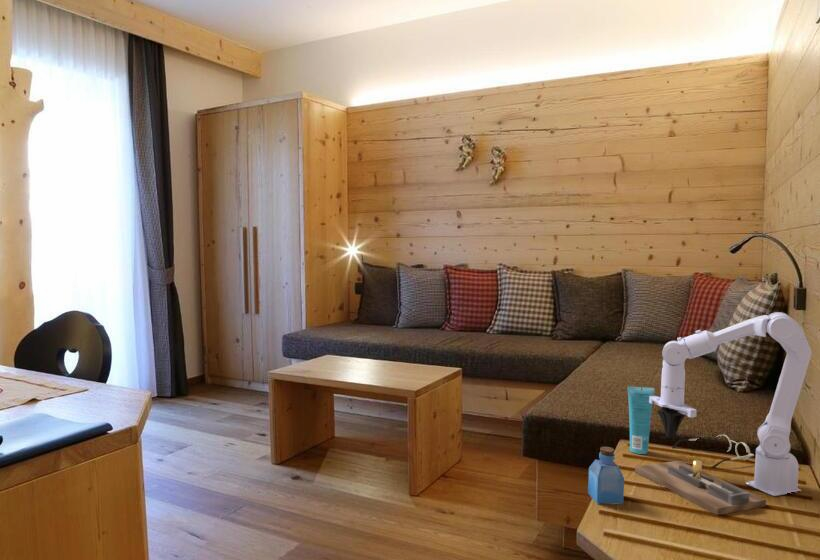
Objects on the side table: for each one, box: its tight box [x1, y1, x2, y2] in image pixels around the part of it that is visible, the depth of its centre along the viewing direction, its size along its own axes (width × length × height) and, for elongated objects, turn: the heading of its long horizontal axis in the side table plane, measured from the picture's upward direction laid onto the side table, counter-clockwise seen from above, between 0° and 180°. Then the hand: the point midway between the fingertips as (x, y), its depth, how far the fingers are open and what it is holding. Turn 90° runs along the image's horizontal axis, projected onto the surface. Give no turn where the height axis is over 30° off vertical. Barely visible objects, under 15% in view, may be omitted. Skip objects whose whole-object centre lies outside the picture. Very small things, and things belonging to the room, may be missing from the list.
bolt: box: [688, 459, 734, 494], centre depth 141 cm, size 2×12×5 cm, turn 20°
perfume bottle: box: [587, 446, 625, 505], centre depth 137 cm, size 6×6×12 cm
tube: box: [627, 385, 656, 455], centre depth 169 cm, size 7×5×19 cm, turn 85°
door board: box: [634, 460, 767, 516], centre depth 145 cm, size 15×26×4 cm, turn 20°
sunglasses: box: [671, 434, 755, 469], centre depth 168 cm, size 17×15×5 cm
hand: (670, 436), depth 155 cm, fingers closed
